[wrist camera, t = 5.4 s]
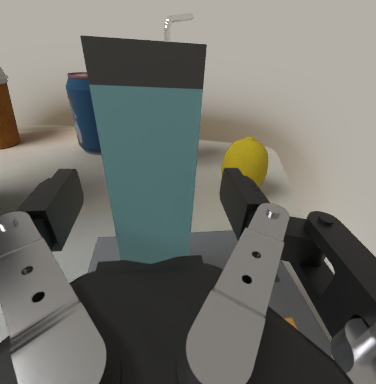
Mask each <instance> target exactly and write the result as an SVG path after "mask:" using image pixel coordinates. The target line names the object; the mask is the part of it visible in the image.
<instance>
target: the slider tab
mask: <svg viewBox="0 0 376 384" xmlns="http://www.w3.org/2000/svg"><path fill="white" fill-rule="evenodd" d="M81 41H82V47H83V53H84V58H85V64H86V70H87V75H88V81H89V86H90V92H91V98H92V103H93V109H94V114H95V120H96V125H97V131H98V137H99V142H100V148H101V153H102V159H103V164H104V170H105V176H106V181H107V187H108V192H109V198H110V203H111V209H112V215H113V220H114V226H115V231H116V237H117V243H118V248H119V254H120V259H121V260H128V261H135V262H141V263H148V264H153V263H157V262H160V261H164V260H167V259H170V258H174V257H178V256H189V246H190V234H191V222H192V211H193V199H194V187H195V175H196V164H197V152H198V140H199V128H200V116H201V105H202V93H203V81H204V70H205V57H206V46H207V45H206V44H191V43H178V42H163V41H150V40H135V39H121V38H107V37H93V36H81Z"/></svg>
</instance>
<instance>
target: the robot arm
mask: <svg viewBox="0 0 376 384" xmlns="http://www.w3.org/2000/svg"><path fill="white" fill-rule="evenodd" d="M83 200H84V197H83V191H82V188H81V184H80V180H79V176H78V172H77V170H76V169H58V171H57V172H56V173H55V174H54V176H53V177H52V178H48V179H47V180H45V181H43V182H42V183H40V184H39V185H38V186H37V187H36V188H35V190H34V191H33V192H32V193H31V194H30V196H29V197H28V198H27V199H26V200H25V201H24V203H23V204H22V205H21V206H20V207H19V208H18V210H17V211H16V212H10V213H6V214H3V215H1V216H0V303H1V307H2V311H3V314H4V318H5V321H6V325H7V329H8V332H9V336H8V337H7V338H5V339H4V340H3V341H2V342H1V343H0V384H376V257H375V256H374V255H373V254H372V253H371V252H370V251H369V250H368V249H367V248H366V247H365V246H364V245H363V244H362V243H361V242H360V241H359V240H358V239H357V238H356V237H355V236H354V235H353V234H352V233H351V232H350V231H349V230H348V229H347V228H346V227H345V226H344V225H343V224H342V223H341V222H340V221H339V220H338V219H337V218H335V217H334V216H332V215H330V214H327V213H324V212H319V211H314V212H311V213H309V215H308V217H307V219H301V218H296V217H290V216H289V213H288V212H287V210H285V209H284V208H283V207H281V206H279V205H276V204H272V203H270V202H269V201H268V199H267V198H266V197H265V195H264V194H263V193H262V191H260V189H259V187H257V185H256V183H255V182H254V181H253V180H252V179H251V178H249V177H248V176H243V174H242V173H241V171H240V170H239V168H224V170H223V175H222V181H221V187H220V200H221V203H222V205H223V208H224V210H225V212H226V215H227V217H228V219H229V221H230V224H231V226H232V228H233V231H234V233H235V235H236V238H237V240H238V243H237V245H236V247H235V249H234V250H233V252H232V254H231V256H230V258H229V260H228V262H227V264H226V266H225V268H224V270H223V269H221V268H219V267H217V266H214V265H211V264H208V263H203V259H202V255H193V256H178V257H174V258H170V259H167V260H164V261H160V262H157V263H153V264H148V263H141V262H135V261H128V260H117V261H102V262H98V264H97V267H96V270H95V271H92V272H90V273H87V274H85V275H83V276H81V277H79V278H77V279H75V280H74V281H72V282H71V283H69V282H68V280H67V278H66V277H65V275H64V273H63V271H62V270H61V268H60V266H59V264H58V263H57V261H56V259H55V257H54V256H53V254H52V251H62V249H63V246H64V244H65V242H66V240H67V238H68V236H69V233H70V231H71V229H72V227H73V225H74V223H75V220H76V218H77V216H78V214H79V212H80V210H81V207H82V205H83ZM325 257H327V259H328V260H329V261H330V263H331V264H332V266H333V268H334V272H335V275H334V274H333V273H332V271H331V270H330V269H329V267H328V266H327V264H326V263H325V262H324V259H325ZM280 260H284V261H289V262H290V263H291V265H292V267H293V269H294V270H295V272H296V274H297V276H298V278H299V279H300V281H301V283H302V285H303V286H304V288H305V290H306V292H307V294H308V295H309V297H310V299H311V301H312V303H313V304H314V306H315V308H316V310H317V311H318V313H319V315H320V317H321V319H322V320H323V322H324V324H325V326H326V328H327V329H328V331H329V333H330V335H331V336H332V340H331V351H332V354H333V357H334V359H335V360H333V359H332V358H331V357H330V356H329V355H328V354H326V353H325V352H324V351H323V350H322V349H320V348H319V347H318V346H317V345H316V344H314V343H313V342H312V341H311V340H309V339H308V338H307V337H306V336H305V335H303V334H302V333H301V332H300V331H299V330H297V329H296V328H295V327H294V326H292V325H291V324H290V323H289V322H288V321H286V320H285V319H284V318H283V317H282V316H280V315H279V314H278V313H277V312H276V311H274V310H273V309H272V308H271V307H269V306H268V304H269V300H270V296H271V292H272V288H273V284H274V281H275V277H276V273H277V269H278V265H279V261H280Z"/></svg>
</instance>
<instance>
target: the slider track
mask: <svg viewBox="0 0 376 384" xmlns="http://www.w3.org/2000/svg"><path fill="white" fill-rule="evenodd" d="M237 243H238V240H237V238H236V235H235V233H234V231H214V232H194V233H191V234H190V246H189V256H193V255H202V259H203V263H208V264H211V265H214V266H217V267H219V268H221V269H223V270H224V268H225V266H226V264H227V262H228V260H229V258H230V256H231V254H232V252H233V250H234V249H235V247H236V245H237ZM117 260H121V259H120V254H119V248H118V243H117V237H98V239H97V243H96V246H95V249H94V253H93V256H92V259H91V263H90V266H89V269H88V273H90V272H92V271H95V270H96V267H97V264H98V262H102V261H117ZM268 306H269V307H271V308H272V309H273V310H274V311H276V312H277V313H278V314H279V315H280V316H282V317H283V318H284V319H285V320H286V321H288V322H289V323H290V324H291V325H292V326H294V327H295V328H296V329H297V330H299V331H300V332H301V333H302V334H303V335H305V336H306V337H307V338H308V339H309V340H311V341H312V342H313V343H314V344H316V345H317V346H318V347H319V348H320V349H322V350H323V351H324V352H325V353H326V354H328V355H329V356H330V355H331V354H332V351H331V343H330V342H329V340H328V338H327V337H326V335H325V333H324V332H323V330H322V328H321V327H320V325H319V323H318V322H317V320H316V318H315V317H314V315H313V313H312V311H311V310H310V308H309V306H308V305H307V303H306V301H305V300H304V298H303V296H302V295H301V293H300V291H299V290H298V288H297V286H296V285H295V283H294V281H293V280H292V278H291V276H290V275H289V273H288V271H287V270H286V268H285V266H284V265H283V263H282V261H281V260H280V261H279V265H278V269H277V273H276V277H275V281H274V284H273V288H272V292H271V296H270V300H269V304H268Z"/></svg>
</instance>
